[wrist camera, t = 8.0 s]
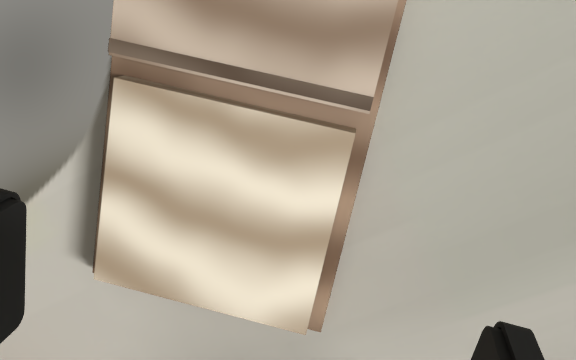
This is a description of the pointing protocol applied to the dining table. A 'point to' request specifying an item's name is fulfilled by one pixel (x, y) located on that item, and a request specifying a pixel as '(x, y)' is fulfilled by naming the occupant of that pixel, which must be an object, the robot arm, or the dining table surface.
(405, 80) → the dining table surface
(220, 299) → the ash plank
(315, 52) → the floor board
